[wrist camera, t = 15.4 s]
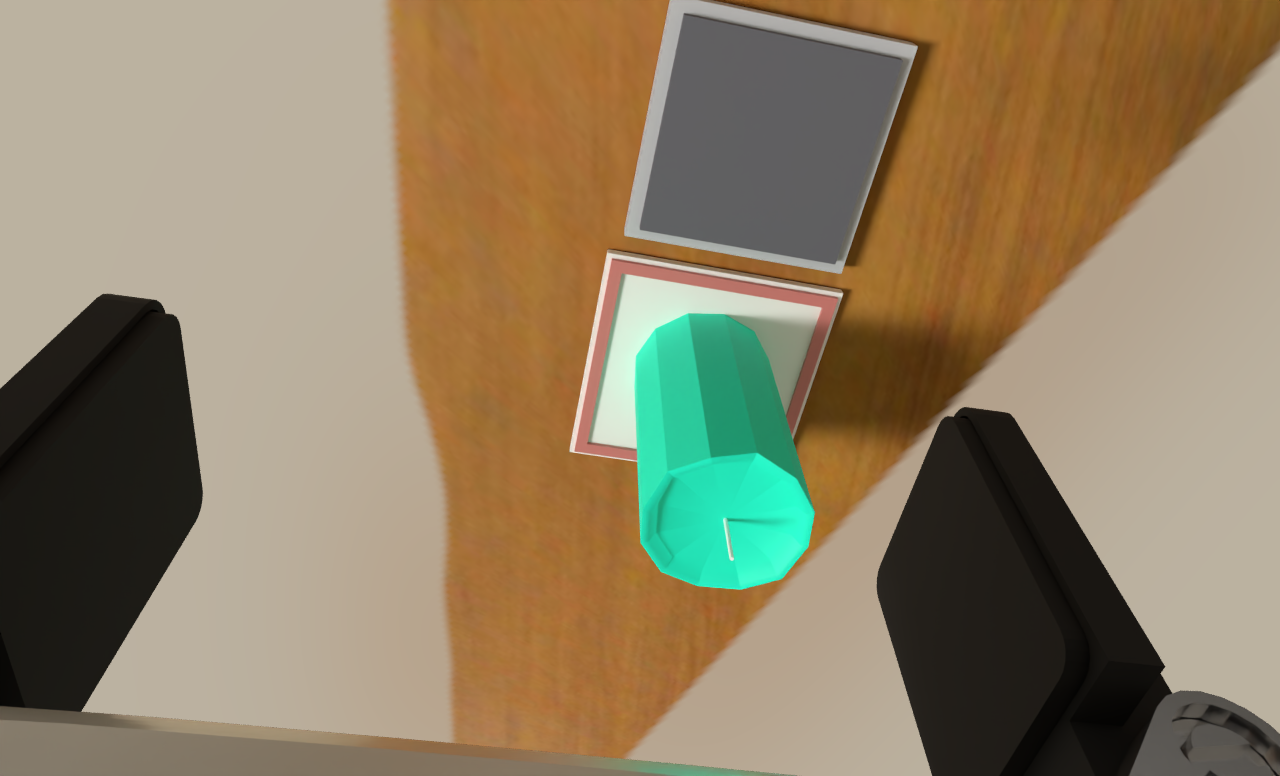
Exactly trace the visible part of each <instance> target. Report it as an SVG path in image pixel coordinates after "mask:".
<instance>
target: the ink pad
mask: <svg viewBox="0 0 1280 776" xmlns="http://www.w3.org/2000/svg"><path fill="white" fill-rule="evenodd" d="M917 48H918V46H916V45H915V44H914V43H912V42H908V41H903V40H899V39H894V38H889V37H884V36H880V35H875V34H870V33H865V32H861V31H856V30H851V29H846V28H842V27H837V26H832V25H827V24H823V23H818V22H813V21H809V20H804V19H799V18H794V17H790V16H785V15H780V14H775V13H771V12H766V11H761V10H756V9H752V8H747V7H742V6H737V5H733V4H728V3H723V2H718V1H714V0H670V2H669V7H668V12H667V17H666V22H665V27H664V32H663V37H662V42H661V47H660V52H659V57H658V62H657V67H656V72H655V77H654V82H653V87H652V92H651V97H650V102H649V107H648V112H647V117H646V122H645V128H644V133H643V138H642V143H641V148H640V153H639V158H638V163H637V168H636V173H635V178H634V183H633V188H632V193H631V198H630V203H629V208H628V213H627V218H626V223H625V228H624V230H625V236H629V237H635V238H640V239H646V240H652V241H657V242H663V243H669V244H674V245H680V246H686V247H691V248H697V249H703V250H708V251H714V252H720V253H725V254H731V255H737V256H742V257H748V258H754V259H759V260H765V261H771V262H776V263H782V264H788V265H793V266H799V267H805V268H811V269H816V270H822V271H828V272H833V273H839V274H841V273H842V270H843V267H844V264H845V261H846V258H847V255H848V252H849V250H850V247H851V244H852V241H853V238H854V235H855V232H856V229H857V226H858V223H859V220H860V217H861V214H862V211H863V208H864V205H865V202H866V199H867V196H868V193H869V190H870V187H871V184H872V181H873V178H874V175H875V173H876V170H877V167H878V164H879V161H880V158H881V155H882V152H883V149H884V146H885V143H886V140H887V137H888V134H889V131H890V128H891V125H892V122H893V119H894V116H895V113H896V110H897V107H898V104H899V101H900V99H901V96H902V93H903V90H904V87H905V84H906V81H907V78H908V75H909V72H910V69H911V66H912V63H913V60H914V57H915V54H916V51H917Z"/></svg>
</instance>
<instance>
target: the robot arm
mask: <svg viewBox="0 0 1280 776" xmlns="http://www.w3.org/2000/svg"><path fill="white" fill-rule="evenodd" d="M202 496H203V490H202V482H201V474H200V467H199V460H198V453H197V445H196V438H195V431H194V423H193V417H192V409H191V401H190V394H189V386H188V379H187V372H186V365H185V357H184V350H183V342H182V335H181V328H180V324H179V321H178V319H177V317H176V316H174V315H172V314H165V310H164V308H163V306H162V304H161V303H160V302H158V301H157V300H151V299H144V298H137V297H129V296H122V295H113V294H102V295H101V296H99V297H98V298H96V299H95V300H94V301H93V302H92V303H91V304H90V305H89V306H88V307H87V308H86V309H85V310H84V311H83V312H81V313H80V314H79V315H78V316H77V317H76V318H75V319H74V320H73V321H72V322H71V323H70V324H69V325H68V326H67V327H65V328H64V329H63V330H62V331H61V332H60V333H59V334H58V335H57V336H56V337H55V338H54V339H53V340H52V341H51V342H50V343H48V344H47V345H46V346H45V347H44V348H43V349H42V350H41V351H40V352H39V353H38V354H37V355H36V356H35V357H34V358H33V359H32V360H30V361H29V362H28V363H27V364H26V365H25V366H24V367H23V368H22V369H21V370H20V371H19V372H18V373H17V374H15V375H14V376H13V377H12V378H11V379H10V380H9V381H8V382H7V383H6V384H5V385H4V386H3V387H2V388H1V389H0V776H795V775H784V774H775V773H764V772H754V771H744V770H734V769H724V768H714V767H703V766H693V765H682V764H671V763H661V762H651V761H639V760H629V759H618V758H608V757H597V756H586V755H576V754H565V753H554V752H543V751H532V750H521V749H510V748H499V747H489V746H478V745H467V744H456V743H444V742H434V741H422V740H412V739H401V738H389V737H378V736H366V735H355V734H343V733H331V732H320V731H308V730H297V729H286V728H274V727H261V726H251V725H240V724H228V723H217V722H205V721H193V720H182V719H169V718H159V717H145V716H132V715H118V714H104V713H90V712H81V711H82V709H83V708H84V706H85V704H86V703H87V701H88V699H89V698H90V696H91V694H92V692H93V691H94V689H95V688H96V686H97V684H98V683H99V681H100V679H101V678H102V676H103V675H104V673H105V671H106V669H107V668H108V666H109V664H110V663H111V661H112V659H113V658H114V656H115V655H116V653H117V651H118V649H119V648H120V646H121V645H122V643H123V641H124V640H125V638H126V636H127V634H128V633H129V631H130V629H131V628H132V626H133V625H134V623H135V621H136V620H137V618H138V616H139V615H140V613H141V611H142V610H143V608H144V606H145V605H146V603H147V601H148V600H149V598H150V596H151V595H152V593H153V591H154V590H155V588H156V586H157V585H158V583H159V581H160V580H161V578H162V577H163V575H164V573H165V572H166V570H167V568H168V566H169V565H170V563H171V562H172V560H173V558H174V556H175V555H176V553H177V552H178V550H179V548H180V547H181V545H182V543H183V541H184V540H185V538H186V536H187V535H188V533H189V532H190V530H191V528H192V527H193V525H194V523H195V522H196V520H197V518H198V515H199V512H200V509H201V504H202ZM877 594H878V598H879V601H880V605H881V608H882V611H883V615H884V618H885V621H886V625H887V628H888V631H889V635H890V637H891V641H892V644H893V648H894V651H895V654H896V657H897V661H898V664H899V668H900V671H901V674H902V677H903V681H904V684H905V687H906V691H907V694H908V697H909V700H910V704H911V707H912V710H913V714H914V717H915V720H916V723H917V727H918V730H919V733H920V737H921V740H922V743H923V747H924V750H925V753H926V756H927V760H928V763H929V766H930V769H931V773H932V776H1280V734H1279V733H1278V732H1277V731H1276V730H1275V729H1274V728H1273V727H1272V726H1271V725H1269V724H1268V723H1266V722H1265V721H1263V720H1262V719H1260V718H1259V717H1258V716H1256V715H1255V714H1253V713H1252V712H1250V711H1248V710H1247V709H1245V708H1243V707H1241V706H1239V705H1237V704H1235V703H1233V702H1231V701H1228V700H1227V699H1225V698H1222V697H1219V696H1215V695H1212V694H1208V693H1204V692H1201V691H1179V692H1176V693H1173V694H1172V692H1171V690H1170V689H1169V687H1168V686H1167V684H1166V682H1165V681H1164V679H1163V677H1162V675H1161V674H1160V673H1161V672H1162V671H1163V669H1164V668H1165V666H1164V664H1163V662H1162V661H1161V659H1160V657H1159V656H1158V654H1157V652H1156V651H1155V649H1154V647H1153V646H1152V644H1151V643H1150V641H1149V639H1148V638H1147V636H1146V634H1145V633H1144V631H1143V629H1142V628H1141V626H1140V625H1139V623H1138V621H1137V620H1136V618H1135V616H1134V615H1133V613H1132V612H1131V610H1130V608H1129V606H1128V605H1127V603H1126V601H1125V600H1124V598H1123V596H1122V595H1121V593H1120V592H1119V590H1118V588H1117V587H1116V585H1115V584H1114V582H1113V580H1112V578H1111V577H1110V575H1109V573H1108V572H1107V570H1106V568H1105V567H1104V565H1103V564H1102V562H1101V560H1100V559H1099V557H1098V555H1097V554H1096V552H1095V550H1094V549H1093V547H1092V545H1091V544H1090V542H1089V541H1088V539H1087V537H1086V536H1085V534H1084V533H1083V531H1082V529H1081V527H1080V526H1079V524H1078V522H1077V521H1076V519H1075V517H1074V516H1073V514H1072V513H1071V511H1070V509H1069V508H1068V506H1067V504H1066V503H1065V501H1064V499H1063V498H1062V496H1061V495H1060V493H1059V491H1058V490H1057V488H1056V486H1055V485H1054V483H1053V481H1052V480H1051V478H1050V476H1049V475H1048V473H1047V472H1046V470H1045V468H1044V467H1043V465H1042V463H1041V462H1040V460H1039V458H1038V457H1037V455H1036V453H1035V452H1034V450H1033V449H1032V447H1031V445H1030V443H1029V442H1028V440H1027V439H1026V437H1025V435H1024V434H1023V432H1022V430H1021V429H1020V427H1019V426H1018V424H1017V422H1016V421H1015V419H1014V418H1013V417H1012V415H1011V414H1009V413H1005V412H998V411H990V410H983V409H976V408H968V407H964V408H961V409H960V410H959V411H958V412H957V413H956V414H955V416H954V417H950V416H947V417H945V418H944V419H943V420H942V421H941V422H940V424H939V426H938V428H937V431H936V433H935V435H934V438H933V440H932V443H931V445H930V448H929V450H928V452H927V455H926V457H925V459H924V462H923V464H922V467H921V469H920V471H919V474H918V476H917V479H916V481H915V483H914V486H913V488H912V491H911V493H910V495H909V498H908V500H907V503H906V505H905V507H904V510H903V512H902V515H901V517H900V519H899V522H898V524H897V527H896V529H895V531H894V534H893V536H892V539H891V541H890V543H889V546H888V548H887V551H886V553H885V555H884V558H883V560H882V562H881V565H880V568H879V571H878V577H877Z"/></svg>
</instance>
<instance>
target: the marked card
mask: <svg viewBox="0 0 1280 776" xmlns="http://www.w3.org/2000/svg"><path fill="white" fill-rule="evenodd" d="M842 296H843V292H842V290H841V289H835V288H829V287H824V286H818V285H812V284H806V283H801V282H795V281H789V280H783V279H778V278H772V277H766V276H760V275H755V274H749V273H743V272H737V271H732V270H726V269H720V268H714V267H709V266H703V265H697V264H691V263H686V262H680V261H674V260H668V259H663V258H657V257H651V256H645V255H640V254H634V253H628V252H622V251H617V250H611V249H608V251H607V256H606V262H605V267H604V272H603V277H602V282H601V288H600V293H599V298H598V303H597V309H596V314H595V319H594V324H593V329H592V335H591V340H590V345H589V350H588V356H587V361H586V366H585V371H584V377H583V382H582V387H581V392H580V397H579V403H578V408H577V413H576V418H575V424H574V429H573V434H572V439H571V444H570V452H574V453H581V454H588V455H595V456H602V457H609V458H615V459H622V460H629V461H636V462H637V439H636V414H635V389H634V385H635V362H636V355H637V354H638V352H639V351H640V349H641V348H642V347H643V345H644V344H645V342H646V341H647V340H648V338H649V337H650V335H651V334H652V333H653V331H654V330H655V329H656V328H658V327H660V326H662V325H664V324H666V323H668V322H670V321H673V320H675V319H677V318H679V317H681V316H683V315H685V314H687V313H701V314H725V315H727V316H729V317H731V318H732V319H734V320H736V321H737V322H739V323H741V324H743V325H744V326H746V327H748V328H750V329H751V330H753V331H754V332H755V334H756V335H757V337H758V339H759V341H760V343H761V345H762V347H763V349H764V351H765V353H766V355H767V357H768V359H769V362H770V365H771V368H772V372H773V375H774V378H775V382H776V385H777V388H778V392H779V395H780V398H781V402H782V405H783V408H784V412H785V415H786V418H787V422H788V425H789V428H790V432H791V435H792V438H793V439H794V436H795V433H796V430H797V427H798V424H799V421H800V418H801V415H802V412H803V410H804V407H805V404H806V401H807V398H808V395H809V392H810V389H811V386H812V383H813V380H814V378H815V375H816V372H817V369H818V366H819V363H820V360H821V357H822V354H823V351H824V348H825V345H826V343H827V340H828V337H829V334H830V331H831V328H832V325H833V322H834V319H835V316H836V313H837V310H838V308H839V305H840V302H841V299H842Z"/></svg>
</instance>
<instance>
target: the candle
mask: <svg viewBox="0 0 1280 776" xmlns="http://www.w3.org/2000/svg"><path fill="white" fill-rule="evenodd" d="M634 389H635V414H636V439H637V464H638V490H639V515H640V540H641V544H642V546H643V547H644V548H645V550H646V551H647V553H648V554H649V555H650V557H651V558H652V560H653V561H654V563H655V564H656V565H657V567H658V568H659V570H660V571H661V572H663V573H665V574H668V575H671V576H673V577H676V578H678V579H681V580H683V581H686V582H688V583H691V584H694V585H696V586H704V587H716V588H728V589H740V590H741V589H745V588H749V587H753V586H757V585H760V584H764V583H768V582H772V581H776V580H780V579H782V578H783V577H784V576H785V575H786V573H787V572H788V571H789V570H790V568H791V567H792V566H793V565H794V564H795V562H796V561H797V560H798V559H799V557H800V556H801V555H802V554H803V553H804V551H805V550H806V549H807V548H808V545H809V540H810V535H811V530H812V525H813V520H814V514H815V512H814V508H813V505H812V502H811V498H810V495H809V492H808V488H807V485H806V482H805V478H804V475H803V472H802V468H801V465H800V462H799V458H798V455H797V452H796V448H795V445H794V442H793V438H792V435H791V432H790V428H789V425H788V422H787V418H786V415H785V412H784V408H783V405H782V402H781V398H780V395H779V392H778V388H777V385H776V382H775V378H774V375H773V372H772V368H771V365H770V362H769V359H768V357H767V355H766V353H765V351H764V349H763V347H762V345H761V343H760V341H759V339H758V337H757V335H756V334H755V332H754V331H753V330H751V329H750V328H748V327H746V326H744V325H743V324H741V323H739V322H737V321H736V320H734V319H732V318H731V317H729V316H727V315H725V314H701V313H687V314H685V315H683V316H681V317H679V318H677V319H675V320H673V321H670V322H668V323H666V324H664V325H662V326H660V327H658V328H656V329H655V330H654V331H653V333H652V334H651V335H650V337H649V338H648V340H647V341H646V342H645V344H644V345H643V347H642V348H641V349H640V351H639V352H638V354H637V355H636V362H635V385H634Z"/></svg>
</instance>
